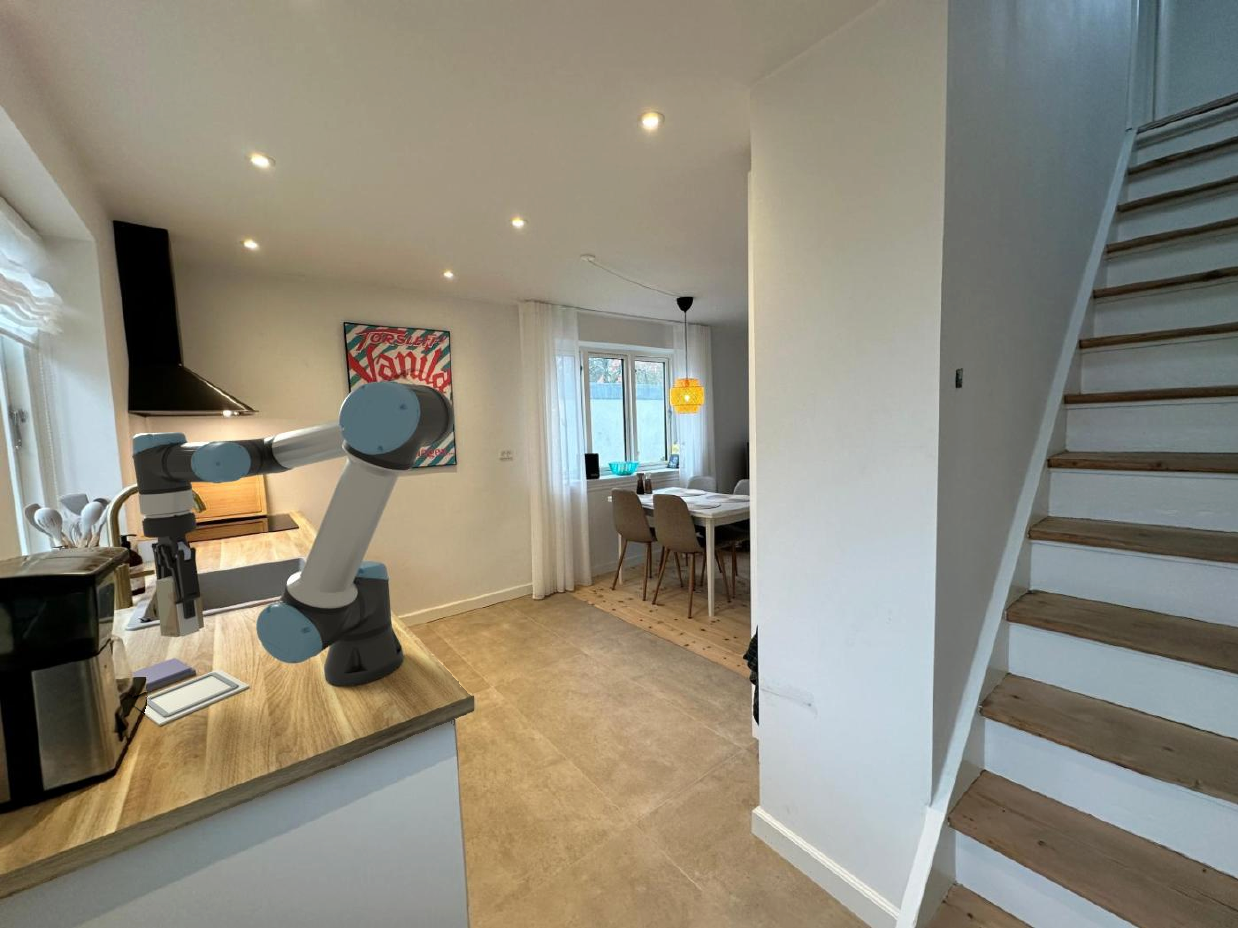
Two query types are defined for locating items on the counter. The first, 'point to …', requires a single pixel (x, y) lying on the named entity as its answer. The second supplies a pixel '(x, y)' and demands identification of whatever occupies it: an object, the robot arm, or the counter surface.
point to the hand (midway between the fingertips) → (183, 630)
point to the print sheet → (191, 696)
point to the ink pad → (164, 673)
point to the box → (172, 607)
